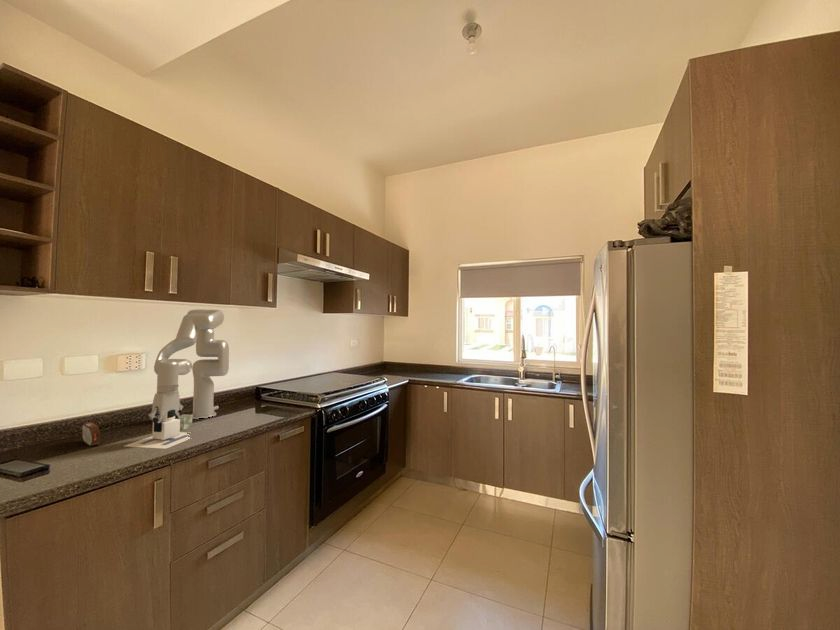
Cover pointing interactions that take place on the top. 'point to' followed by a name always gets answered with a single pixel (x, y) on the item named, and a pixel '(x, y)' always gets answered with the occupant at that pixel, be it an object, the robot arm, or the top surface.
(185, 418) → the cover block
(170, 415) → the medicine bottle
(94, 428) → the tin
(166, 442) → the letter sheet
